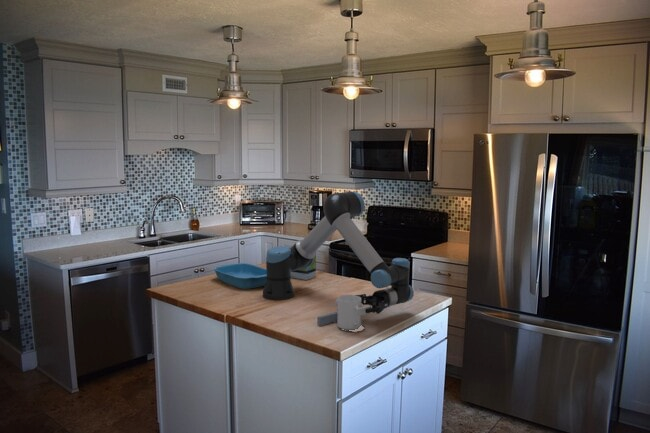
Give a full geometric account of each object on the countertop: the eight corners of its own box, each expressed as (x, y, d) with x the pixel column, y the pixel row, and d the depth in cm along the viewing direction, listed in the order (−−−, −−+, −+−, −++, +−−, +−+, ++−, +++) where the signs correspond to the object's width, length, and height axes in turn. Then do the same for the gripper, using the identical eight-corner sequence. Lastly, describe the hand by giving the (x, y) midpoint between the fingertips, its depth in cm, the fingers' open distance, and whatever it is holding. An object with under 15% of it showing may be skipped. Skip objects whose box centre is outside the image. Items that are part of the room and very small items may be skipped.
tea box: (316, 277, 288) (316, 250, 286) (306, 280, 280) (306, 253, 278) (294, 273, 296) (294, 247, 294) (283, 276, 288) (283, 250, 286)
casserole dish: (207, 278, 282) (207, 266, 281) (242, 272, 297) (242, 260, 296) (244, 293, 254) (244, 279, 254) (280, 286, 269) (280, 272, 268)
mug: (348, 320, 215) (349, 293, 213) (370, 328, 206) (371, 299, 205) (332, 326, 208) (332, 298, 207) (354, 334, 200) (354, 305, 198)
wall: (319, 326, 209) (319, 317, 209) (317, 325, 211) (317, 316, 210) (352, 317, 221) (352, 309, 220) (349, 316, 222) (350, 308, 222)
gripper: (406, 314, 209) (368, 325, 196) (363, 300, 228) (326, 309, 214) (406, 296, 208) (369, 306, 195) (363, 283, 227) (326, 291, 213)
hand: (346, 307), depth 204 cm, fingers open, 13 cm apart
